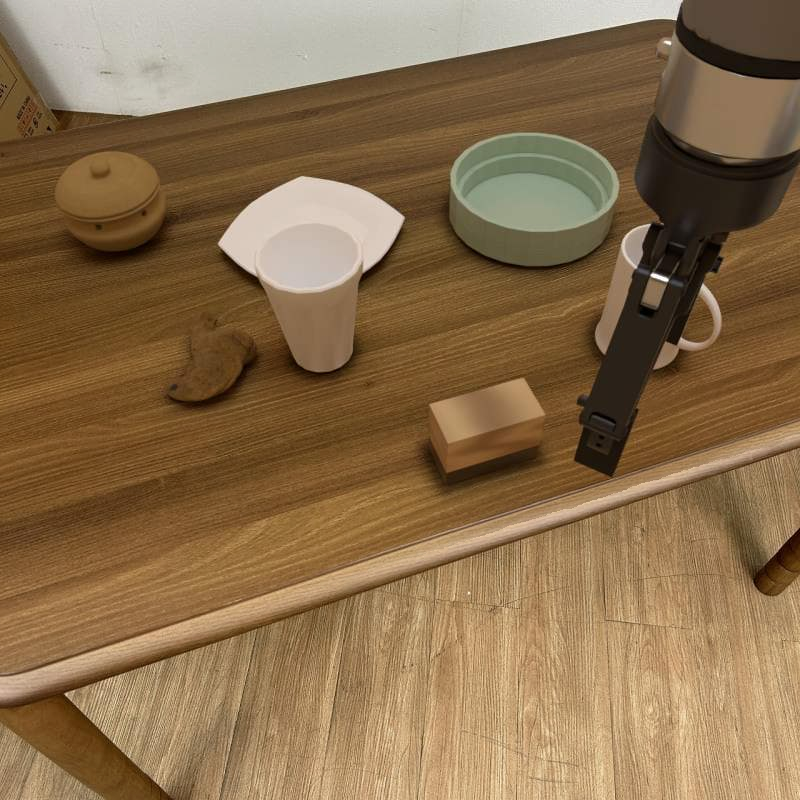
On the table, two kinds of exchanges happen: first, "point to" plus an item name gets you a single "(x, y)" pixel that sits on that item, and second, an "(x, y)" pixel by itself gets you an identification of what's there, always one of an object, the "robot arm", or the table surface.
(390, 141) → the table surface
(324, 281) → the cup
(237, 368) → the ginger root
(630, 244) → the mug
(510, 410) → the block
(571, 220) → the bowl
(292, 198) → the plate
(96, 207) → the pot
